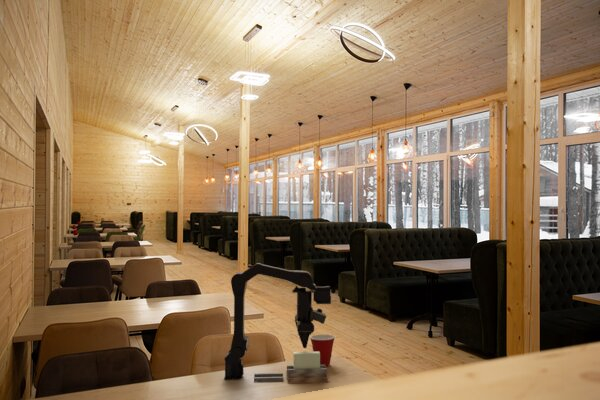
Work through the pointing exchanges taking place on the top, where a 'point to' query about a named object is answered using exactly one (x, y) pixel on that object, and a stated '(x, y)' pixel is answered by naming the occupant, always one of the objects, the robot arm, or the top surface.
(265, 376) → the grey upright bracket
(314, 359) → the door panel
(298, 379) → the track plinth
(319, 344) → the plastic cup
